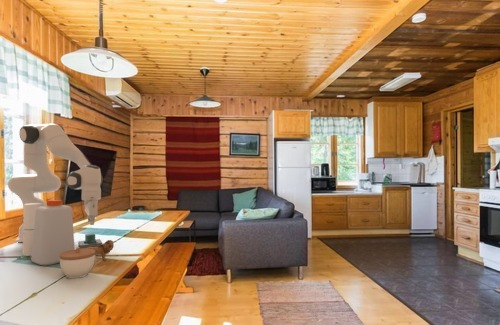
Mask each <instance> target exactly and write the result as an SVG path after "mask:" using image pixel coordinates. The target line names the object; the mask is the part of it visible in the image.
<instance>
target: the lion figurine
mask: <svg viewBox="0 0 500 325" xmlns="http://www.w3.org/2000/svg"><path fill="white" fill-rule="evenodd" d="M114 246H115V245H114V241H113V240H112V239H109V240H108V239H107V240H106V241H105V242H104V243H102V245H101V246H99V247H87V249H94V250H95V256H100V255H101V260H102V261H103V262H106V261H107V259H106V255H108V254H110V253H111V251H112V250H113V249H114Z"/></svg>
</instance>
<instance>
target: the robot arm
mask: <svg viewBox="0 0 500 325" xmlns="http://www.w3.org/2000/svg"><path fill="white" fill-rule="evenodd" d="M18 133H19V138H20V140H21V141H22V142H23V143H24V144H23V165H24V166H25V168H27V169H29V170H31V171H34V172H35V173H36V174H18V175H13V176H11V177H10V178H9V179H8V184H7V186H8V189H9V190H10V192H11V193H13V194H15V195H16V196H17V197H18V198H19V199H20V201H21V202H22V209H23V210H22V211H23V212H24V204H28V203H41V207H42V206H47V202H46V201H45V200H43V199H42V198H38V197H37V196H35V195H34V194H38V193H39V194H42V193H44V194H45V193H52V192H57V191H58V190H59V189H60V188H61V184H62V180H61V178H60V177H59V176H58V175H57V174H55V173H53V172H52V171H51V169H50V167H49V165H48V154H47V153H48V151H49V152H50V153H51V154H52V155H53V156H54V157H57V158H60V159H64V160H68V161H71V162H73V163H75V164H76V165H77V166H78V167H79V168H80V169H78V170H75V171H71V172H70V173H69V174H67V177H66V184H67V186H68V188H70V189H71V190H81V201H84V202H83V204H84V205H83V206H84V211H85V213H86V214H87V222H88V223H89V225H90V226H93V225H95V219H96V218H97V217H98V208H99V207H98V203H99V201H100V200H102V199H101V198H102V189H101V186H102V184H103V180H104V178H103V175H102V173H101V168H100V167H99V166H98V165H95V164H94V165H93V164H92V163H91V161H90V160H89V159H88V157H87V156H86V155H85V154H84V152H83V151H82V150H80V149H79V148H78V147H77V146H76V145H75V144H74V143H73V142H72V141H71V139H70V138H69V136H68V134H67V133H66V130H65V129H64V127H63V126H62V125H59V124H57V123H49V124H48V123H41V124H40V123H39V124H27V125H22V126H21V127H20V129H19V132H18ZM47 150H48V151H47ZM21 220H22V222H21V223H22V224H21V225H20V226H19V228H18V237H17V238H16V239H14V243H19V242H20V243H23V218H22V219H21Z"/></svg>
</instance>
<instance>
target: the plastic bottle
mask: <svg viewBox="0 0 500 325" xmlns="http://www.w3.org/2000/svg"><path fill="white" fill-rule="evenodd" d="M73 218H74V217H73V208H72V206H69V205H67V204H65V205H64V204H63V200H62V199H50V200H49V199H48V200H47V201H46V206H42V207H38V208H37V209H36V216H35V226H34V236H33V246H32V255H31V256H30V257H31V258H30V260H31V262H32V263H34V264H37V265H38V266H52V265H56V264H60V254H61V253H63V252H65V251H69V250H74V249H76V248H75V236H74V220H73Z"/></svg>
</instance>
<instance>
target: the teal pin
mask: <svg viewBox="0 0 500 325" xmlns="http://www.w3.org/2000/svg"><path fill="white" fill-rule="evenodd" d="M84 234H85V233H84ZM84 236H85V237H84V241H85V244H89V243H95V239H96V234H95V233H94V232H93V233H86V234H85V235H84Z"/></svg>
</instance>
